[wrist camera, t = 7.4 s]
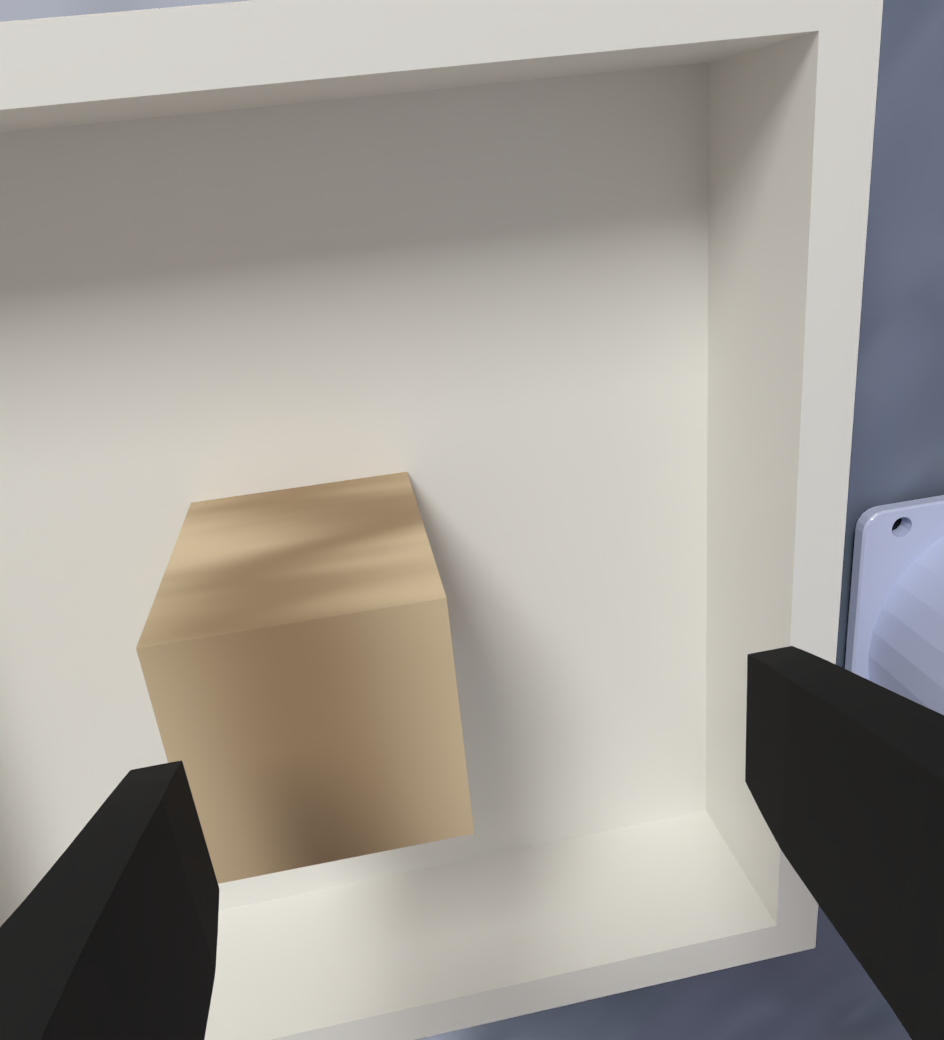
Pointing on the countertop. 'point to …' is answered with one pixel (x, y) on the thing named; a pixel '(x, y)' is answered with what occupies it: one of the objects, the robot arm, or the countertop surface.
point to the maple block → (309, 676)
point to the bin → (446, 443)
